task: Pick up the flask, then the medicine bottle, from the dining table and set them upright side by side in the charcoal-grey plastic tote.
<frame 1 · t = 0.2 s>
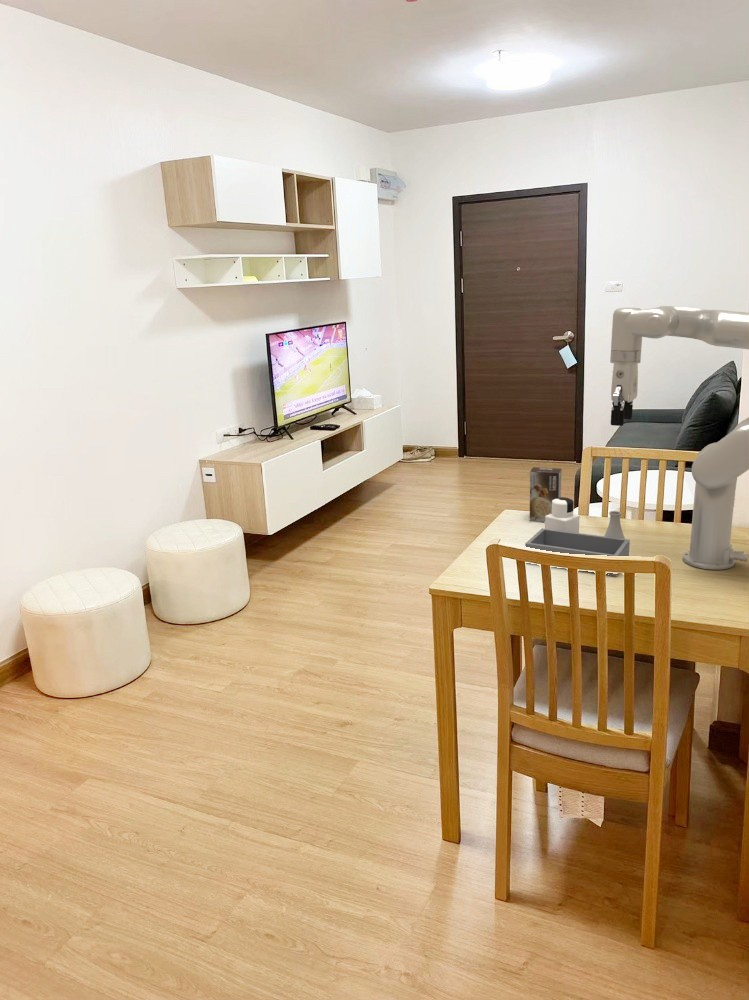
hand: (621, 422, 207), 36 cm above the table, tool pointing down, fingers open, 9 cm apart
coffee box: (544, 520, 244), on the table
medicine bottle: (561, 539, 227), on the table
tote: (576, 561, 209), on the table
flask: (613, 547, 219), on the table
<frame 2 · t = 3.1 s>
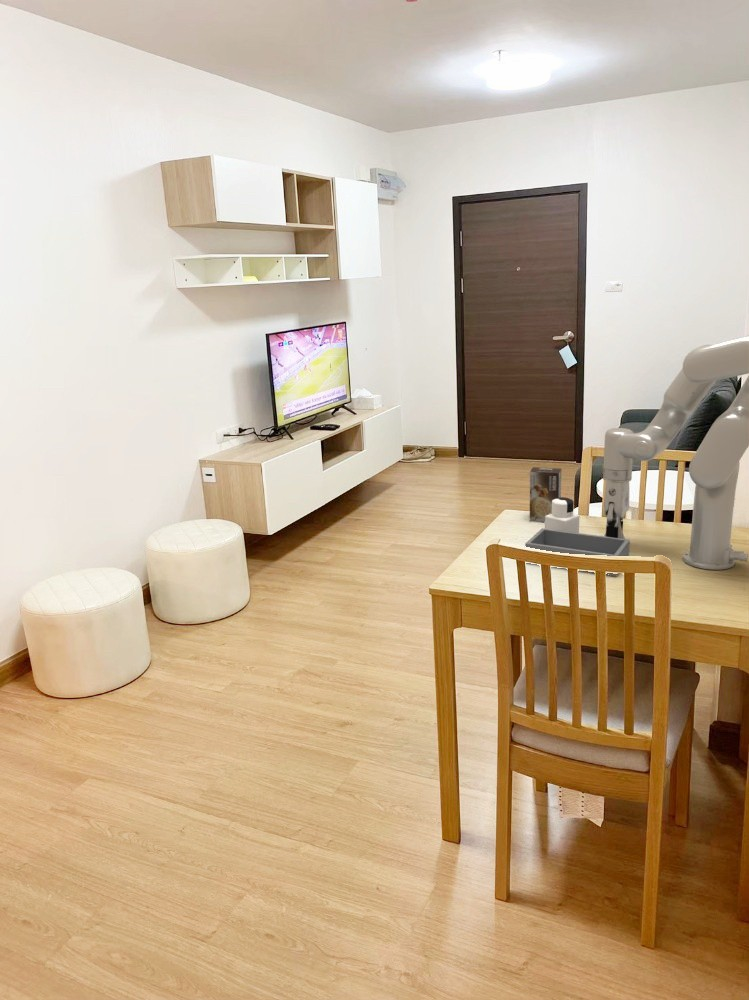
hand: (614, 536, 218), 3 cm above the table, tool pointing down, fingers closed on flask, 4 cm apart
flask: (613, 547, 219), on the table, touching gripper
everything else where it was.
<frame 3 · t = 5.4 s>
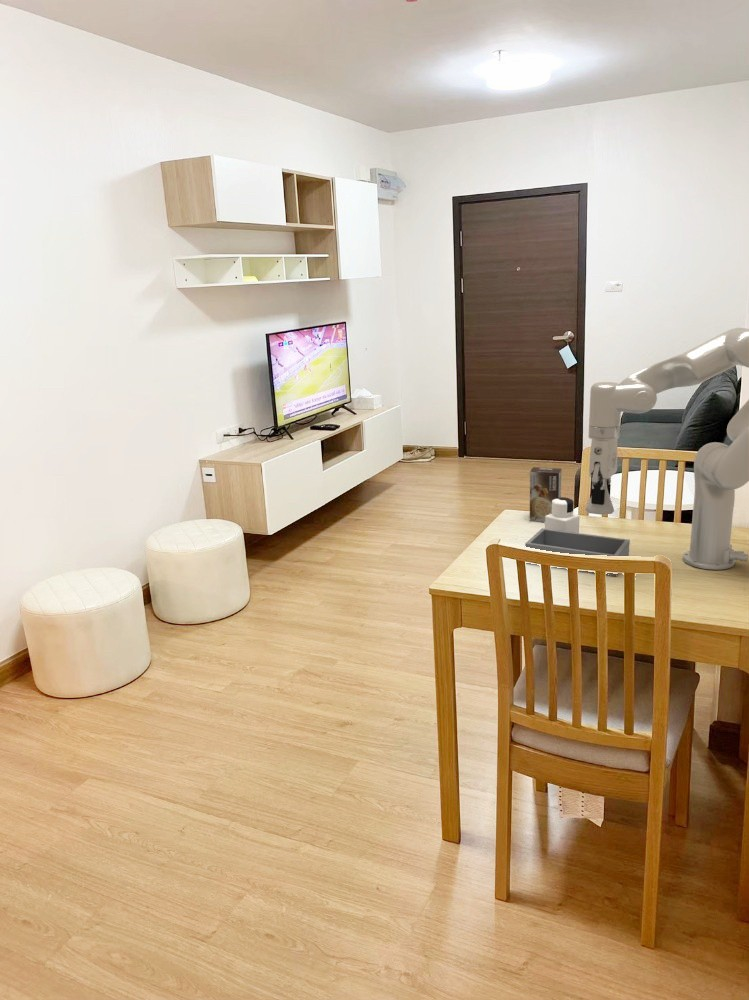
hand: (600, 500, 202), 17 cm above the table, tool pointing down, fingers closed on flask, 4 cm apart
flask: (599, 512, 203), point 14 cm above the table, touching gripper
everything else where it was.
when the fingers open (5 cm above the table, at t = 8.1 s): flask drops 1 cm, resting on tote.
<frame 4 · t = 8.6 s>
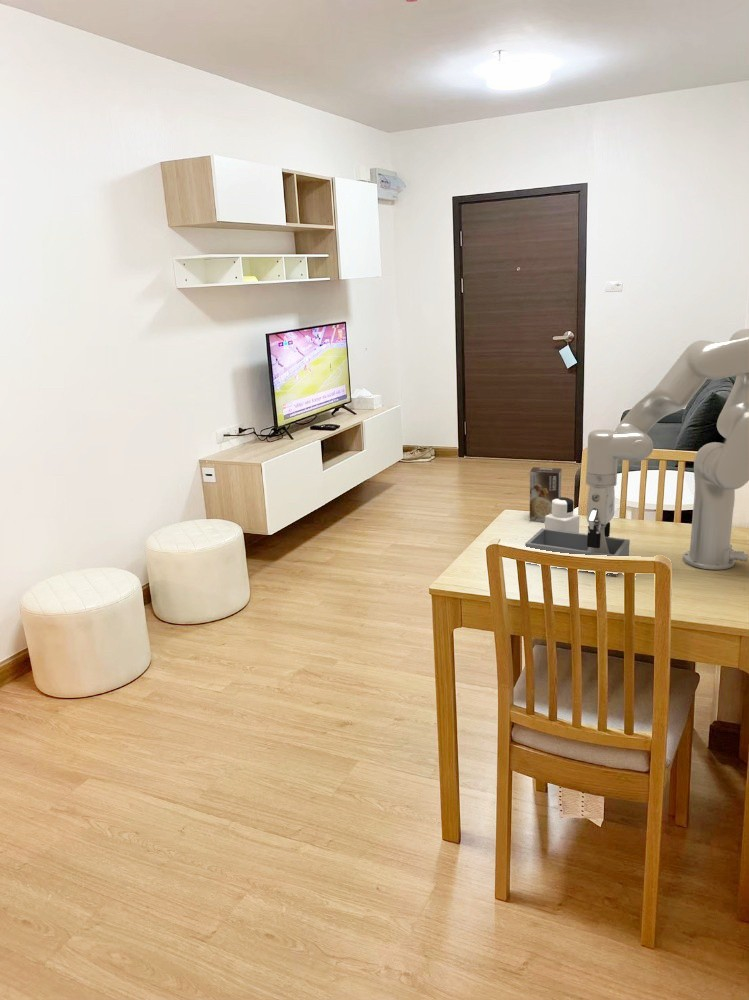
hand: (598, 541, 204), 6 cm above the table, tool pointing down, fingers open, 9 cm apart
flask: (597, 561, 206), point 1 cm above the table, touching tote
everything else where it was.
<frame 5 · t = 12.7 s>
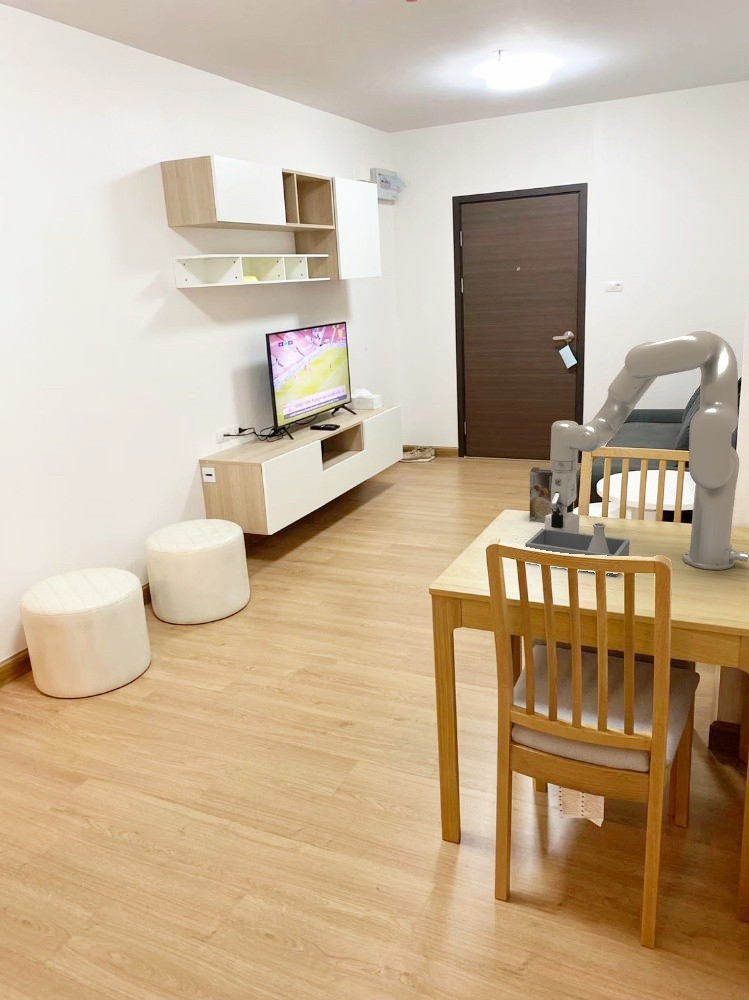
hand: (561, 522, 225), 5 cm above the table, tool pointing down, fingers closed on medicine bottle, 8 cm apart
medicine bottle: (561, 539, 227), on the table, touching gripper
everything else where it was.
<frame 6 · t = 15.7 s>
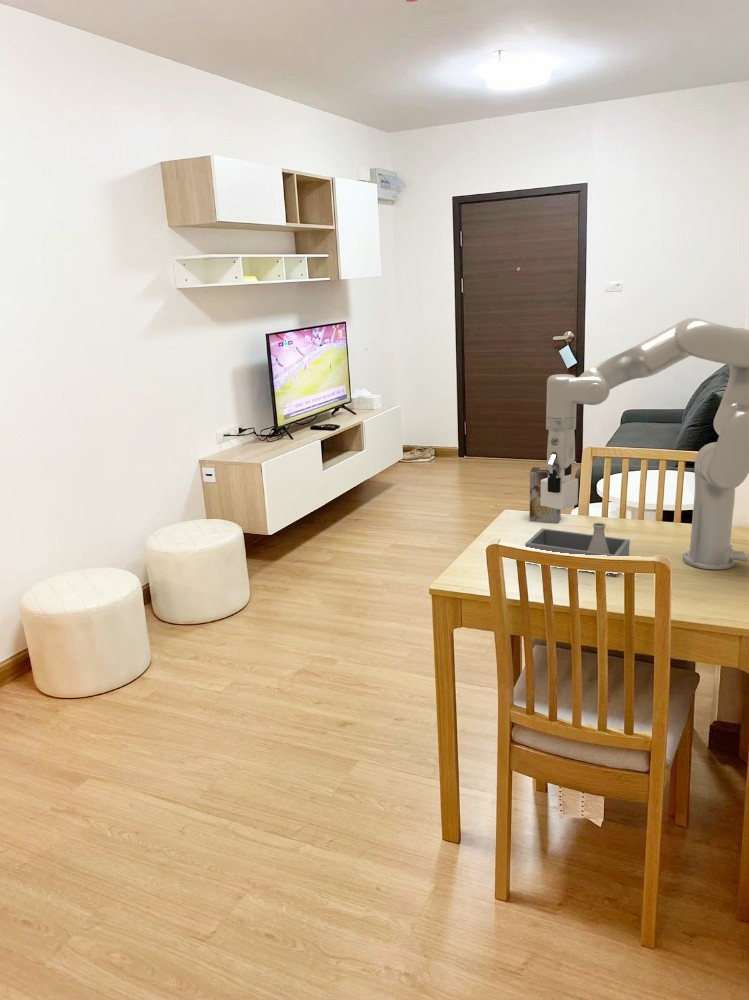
hand: (559, 487, 206), 20 cm above the table, tool pointing down, fingers closed on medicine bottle, 8 cm apart
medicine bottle: (558, 505, 207), point 15 cm above the table, touching gripper
everything else where it was.
when the fingers open (7 cm above the table, at t = 18.7 s): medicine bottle drops 1 cm, resting on tote.
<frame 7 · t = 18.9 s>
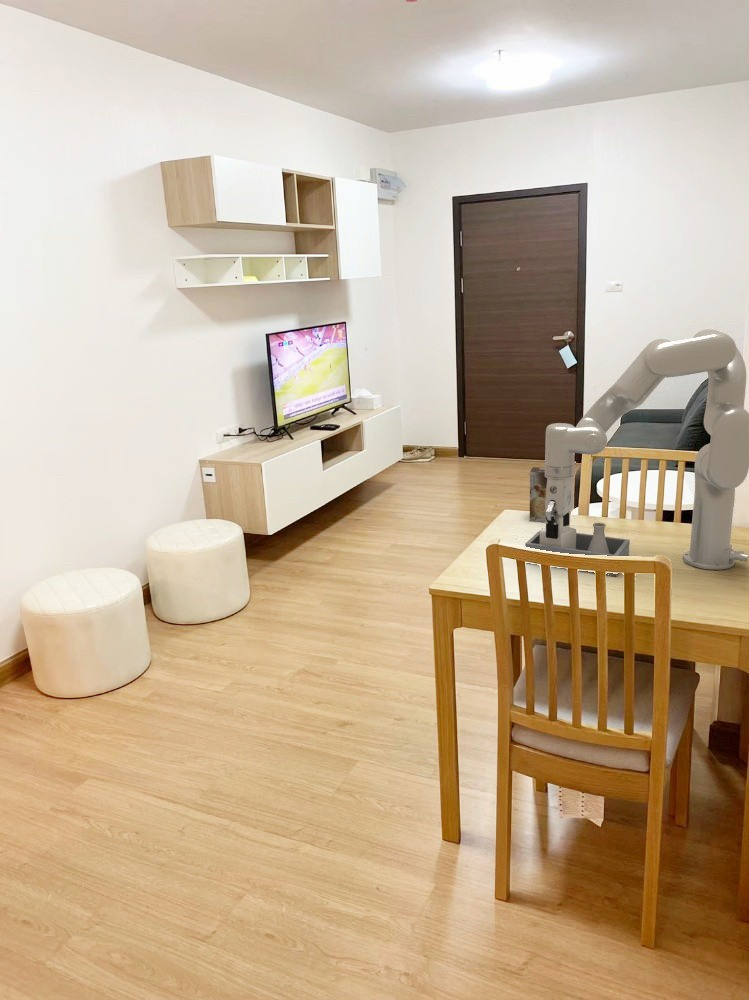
hand: (557, 532, 210), 7 cm above the table, tool pointing down, fingers open, 9 cm apart
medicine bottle: (557, 554, 211), point 1 cm above the table, touching tote
everything else where it was.
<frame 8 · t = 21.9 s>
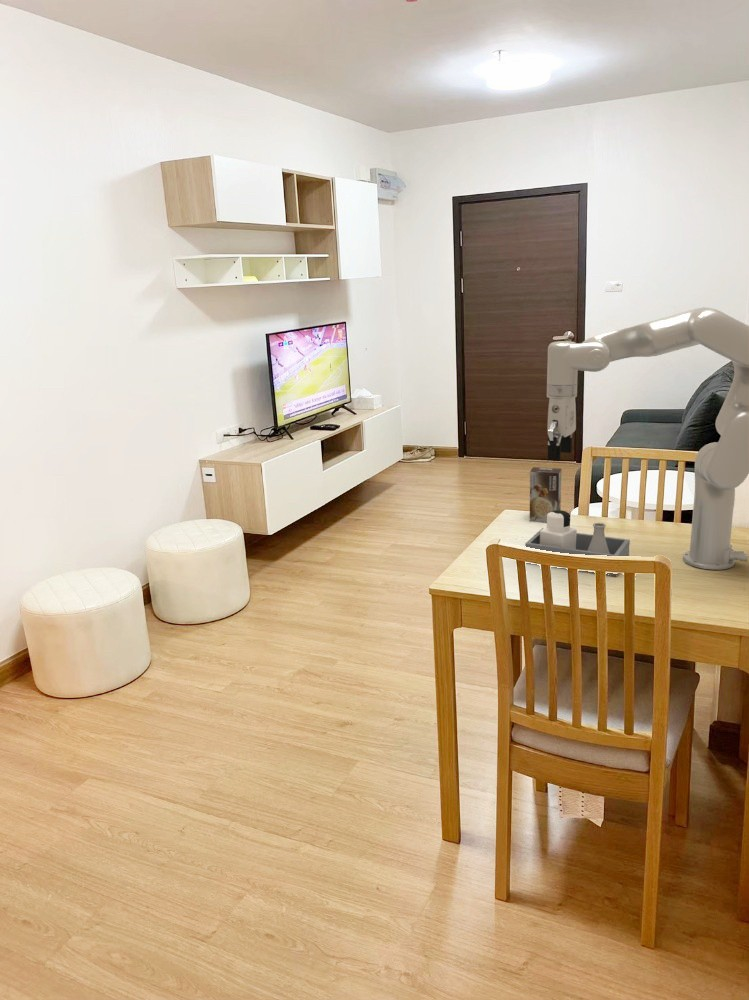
hand: (559, 456, 204), 28 cm above the table, tool pointing down, fingers open, 9 cm apart
nothing on the table moved.
at the end: flask inside the target area on the tote (5.5 cm from its centre), point 0.8 cm above the tote's base; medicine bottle inside the target area on the tote (5.3 cm from its centre), point 0.8 cm above the tote's base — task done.
